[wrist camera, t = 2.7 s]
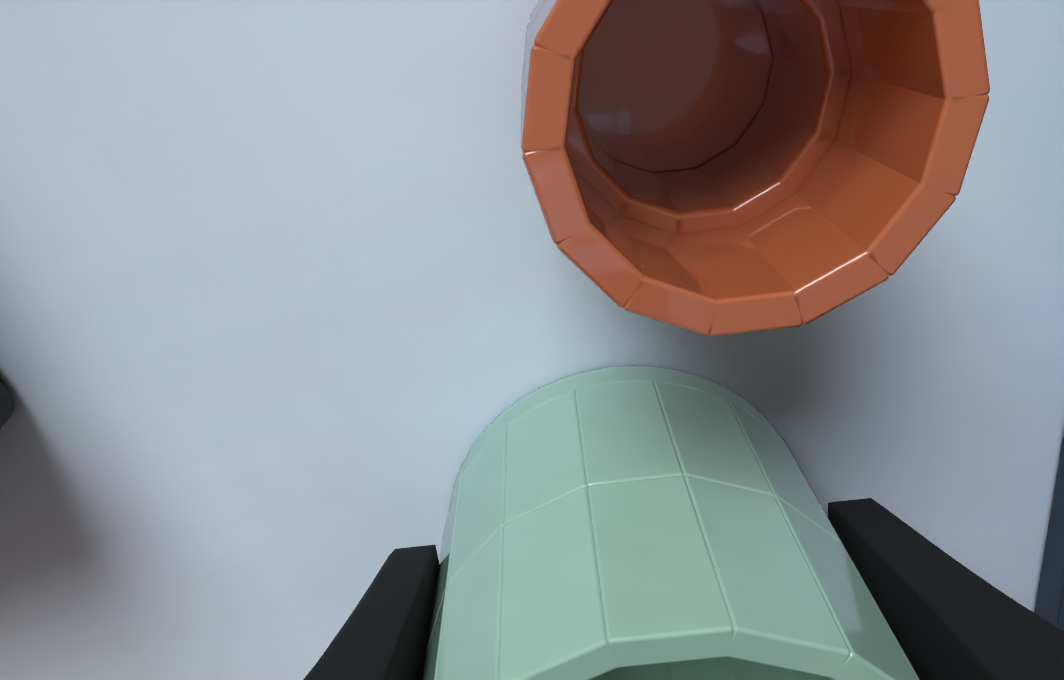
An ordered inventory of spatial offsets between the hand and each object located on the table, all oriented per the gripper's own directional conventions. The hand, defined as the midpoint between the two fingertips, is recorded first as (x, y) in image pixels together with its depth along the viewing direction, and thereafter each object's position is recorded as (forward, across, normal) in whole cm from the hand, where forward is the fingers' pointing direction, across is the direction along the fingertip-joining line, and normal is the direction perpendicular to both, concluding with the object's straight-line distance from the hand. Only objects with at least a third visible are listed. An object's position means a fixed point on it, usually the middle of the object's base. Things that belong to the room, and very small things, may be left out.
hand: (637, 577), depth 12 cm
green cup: (+1, 0, 0) cm, 1 cm away
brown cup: (+1, -1, -7) cm, 7 cm away
